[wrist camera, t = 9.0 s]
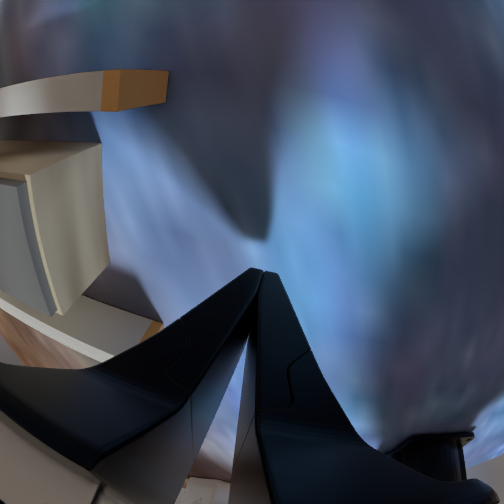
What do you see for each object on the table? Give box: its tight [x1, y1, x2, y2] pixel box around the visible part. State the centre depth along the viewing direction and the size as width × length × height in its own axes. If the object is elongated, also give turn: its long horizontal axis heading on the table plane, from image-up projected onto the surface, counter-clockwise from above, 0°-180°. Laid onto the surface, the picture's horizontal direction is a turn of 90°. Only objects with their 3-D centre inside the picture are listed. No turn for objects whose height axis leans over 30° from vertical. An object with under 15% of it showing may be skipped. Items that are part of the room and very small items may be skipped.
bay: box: [0, 69, 169, 362], centre depth 10 cm, size 12×11×2 cm
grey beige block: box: [0, 140, 110, 317], centre depth 9 cm, size 8×5×4 cm, turn 81°
